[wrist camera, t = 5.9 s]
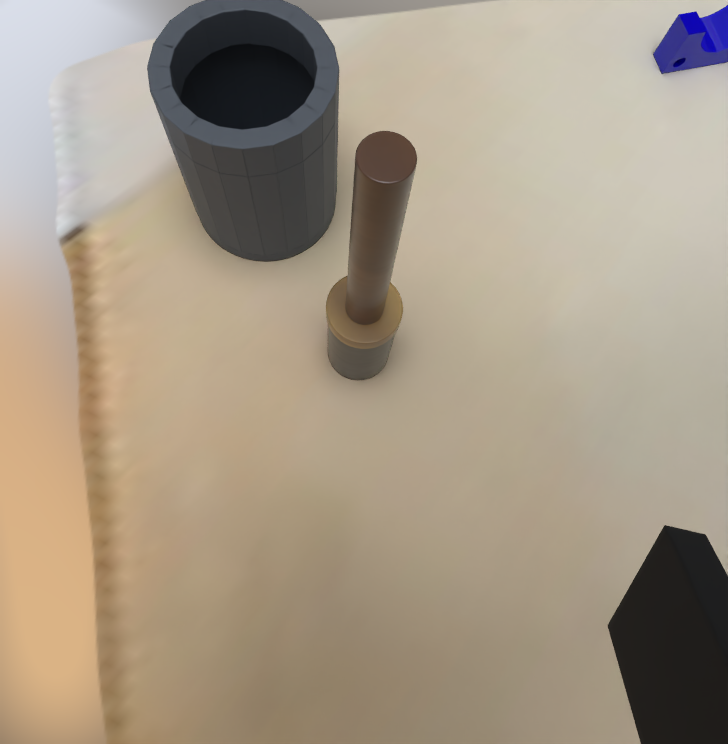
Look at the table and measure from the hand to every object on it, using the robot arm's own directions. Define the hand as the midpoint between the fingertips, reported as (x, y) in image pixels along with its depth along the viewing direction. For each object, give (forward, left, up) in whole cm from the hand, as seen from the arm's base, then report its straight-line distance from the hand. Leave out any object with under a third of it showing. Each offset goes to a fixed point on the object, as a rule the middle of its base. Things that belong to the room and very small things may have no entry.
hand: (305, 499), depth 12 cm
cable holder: (-50, -5, -29) cm, 58 cm away
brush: (-11, -7, -29) cm, 32 cm away
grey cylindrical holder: (-15, -20, -29) cm, 38 cm away
